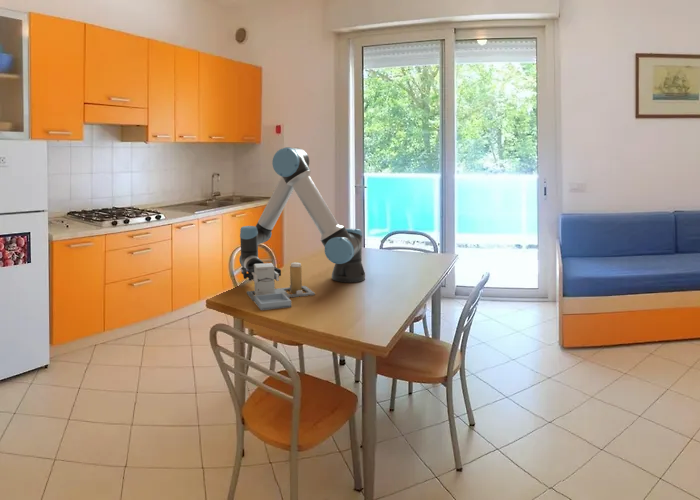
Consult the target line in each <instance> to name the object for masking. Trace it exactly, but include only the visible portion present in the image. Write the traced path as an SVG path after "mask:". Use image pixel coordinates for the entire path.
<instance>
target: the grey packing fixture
mask: <svg viewBox="0 0 700 500" xmlns="http://www.w3.org/2000/svg"><path fill="white" fill-rule="evenodd" d="M303 289H304V290H303ZM287 290H288V291H290V286H289V287H280V288H278V287H277V288H275V293H284V294H285V295H286V296H287V297H288V298H289V299H290V297H291V298H297V297H298V298H300V297H307V296H308V295H310V296H315V295H316V293H315V292H314V291H312V289H311V288H310V287H308V286H306V285H302V290H299V291H296V294H291V293H288V292H287ZM303 291H305V292H303ZM246 294H247V296H248V297H249V299H250V300H251V301H252V302H254V296H255V290H246ZM269 294H270V293H269ZM264 295H265V294H264ZM299 296H300V297H299Z"/></svg>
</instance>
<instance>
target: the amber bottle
mask: <svg viewBox="0 0 700 500" xmlns="http://www.w3.org/2000/svg"><path fill="white" fill-rule="evenodd" d="M302 269H303V267H302V263H301V262H291V263H290V266H289V274H290V277H289V278H290V279H289V280H290V281H289V283H290V284H289V287H290V290H289V292H290V293H289V294H291V293H292V294H296V291H299V290H302V291H303V289H302V286H303V282H302V281H303V279H302V278H303V276H302V275H303V274H302V273H303V272H302V271H303V270H302Z"/></svg>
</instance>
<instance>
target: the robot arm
mask: <svg viewBox="0 0 700 500" xmlns="http://www.w3.org/2000/svg"><path fill="white" fill-rule="evenodd" d="M271 162H272V163H271V164H272V168H273V170H274V172H275V173H276V174H277V175H278V176H280V179H279V181H278V182H277V185H276V187H275V188H274V190H273V193H272V194H271V197H269V200H268V202H267V204H266V205H265V207H264V209H263V212H262V213H261V214H260V217H259V218H258V221H257V223H256V225H245V226H244V225H243V226H241V227H240V228H239V229H240V230H239V231H240V232H239V239H240V240H239V241H240V255H239V257H238V258H239V264H240V266H241V269H240V270H241V271H240V272H241V273H240V274H242V276H243V279H244V280H246V279H247V278H248V281H253V283H254V282H255V283H257V275H256V274H255V273H254V264H263V263H264V262H263V261H262V259H260V258H259V245H261V244H263V243H267V242H268V241H269V240H270V239H271V237H272V234H273V233H272V231H273V229H274V227H275V225H276V224H277V221H278V220H279V218H280V216H281V215H282V212H283V211H284V209H285V207H286V205H287V203H288V202H289V200H290V197H291V196H292V194H293V192H295V193H296V195H297V197H298V198H299V200H300V202H301V203H302V205H303V206H304V208H305V210H306V212H307V213H308V215H309V216H310V218H311V220H312V221H313V223H314V225H315V226H316V228H317V231H318V232H319V233H320V235H321V237H320V242H321V243H322V245H323V247H324V254H325V255H324V256H325V257H326V258H327V259H328V261H330V262H331V263H333V264H334V266H333V268H332V273H331V279H332V280H333V281H335V282H338V283H339V282H340V283H359V282H362V281H365V279H366V272H365V269H364V265H363V263H362V253H363V252H362V249H363V247H362V245H363V231H362V229H359V228H346V227H345V226H344V225H341V224H340V223H339V222H338V221H337V219H336V218H335V216H334V214H333V212H332V210H331V209H330V207H329V206H328V204H327V202H326V201H325V199H324V197H323V196H322V194H321V192H320V191H319V189H318V187H317V185H316V184H315V182H314V181H313V179H312V177H311V171H312V170H311V168H310V157H309V155H308V153H307V152H306V151H305V150H304V149H302V148H300V147H282V148H279V150H277V151H276V152H275V153H274V154H273V157H272V161H271ZM273 266H274V281H275V280H276V281H277V282H279V281H280V277H281V276H282V269H280V268H278V267H276V266H275V265H274V264H273Z"/></svg>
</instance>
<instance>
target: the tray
mask: <svg viewBox="0 0 700 500" xmlns="http://www.w3.org/2000/svg"><path fill="white" fill-rule="evenodd" d="M254 295H255V294H254ZM253 302H254V303H255V305H256V306H257V308H258V309H259V310H260V311H267V310H276V309H286V308H292V300H291V299H290V298H288V297H287V296H286V295H285V294H284V293H275V294H265V295H255V296H254V301H253Z"/></svg>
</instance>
